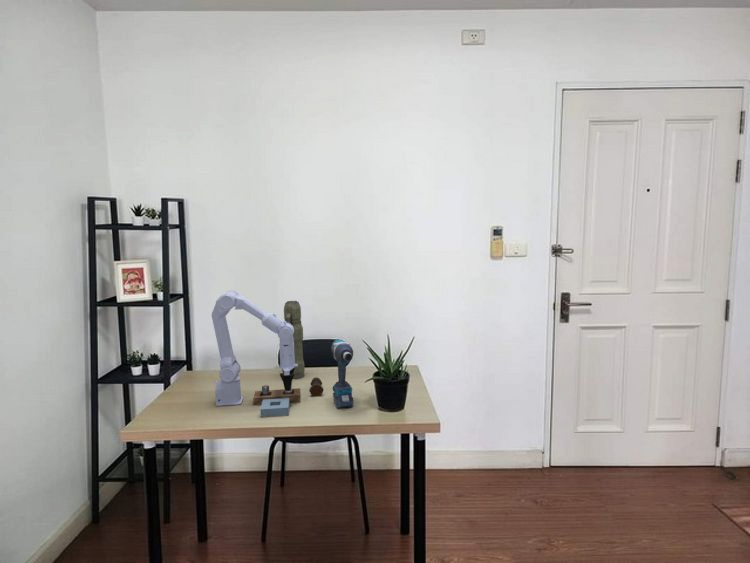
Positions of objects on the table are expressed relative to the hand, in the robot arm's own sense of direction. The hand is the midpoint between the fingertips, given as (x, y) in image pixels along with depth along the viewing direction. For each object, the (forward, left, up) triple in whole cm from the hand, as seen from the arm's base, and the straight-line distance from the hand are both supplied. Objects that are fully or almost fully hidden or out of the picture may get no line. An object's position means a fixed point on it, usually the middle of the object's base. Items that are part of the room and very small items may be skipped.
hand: (288, 387), depth 196 cm
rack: (-4, 0, -5) cm, 7 cm away
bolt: (+11, +9, -6) cm, 15 cm away
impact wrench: (+22, -11, -5) cm, 24 cm away
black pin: (-9, 0, -5) cm, 10 cm away
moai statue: (+2, +29, -5) cm, 30 cm away
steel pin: (0, 0, -5) cm, 5 cm away
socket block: (-4, -12, -5) cm, 13 cm away
